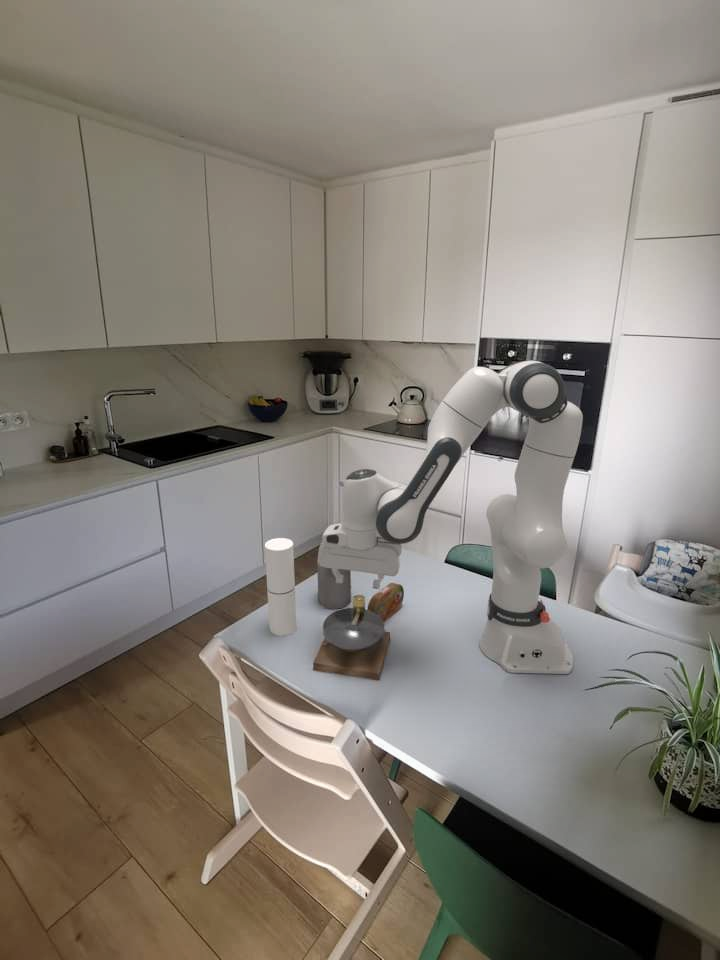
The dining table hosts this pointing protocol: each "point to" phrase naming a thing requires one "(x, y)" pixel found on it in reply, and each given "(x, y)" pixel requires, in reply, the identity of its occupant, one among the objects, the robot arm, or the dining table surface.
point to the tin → (387, 601)
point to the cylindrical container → (280, 586)
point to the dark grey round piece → (353, 628)
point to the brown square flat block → (353, 660)
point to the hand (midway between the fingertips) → (357, 585)
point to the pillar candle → (333, 588)
